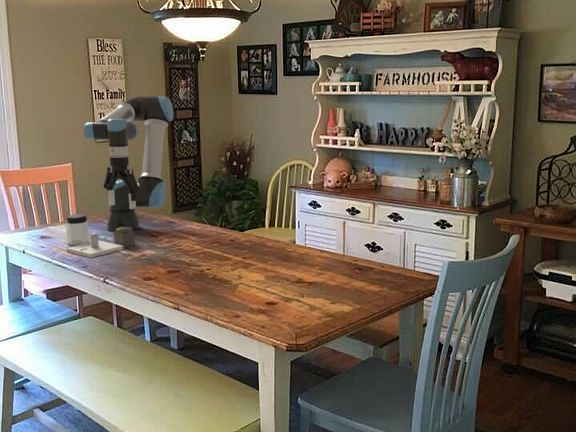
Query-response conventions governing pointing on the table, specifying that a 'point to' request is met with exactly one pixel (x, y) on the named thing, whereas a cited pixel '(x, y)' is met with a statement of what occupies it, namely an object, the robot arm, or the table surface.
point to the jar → (77, 229)
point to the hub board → (94, 247)
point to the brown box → (124, 236)
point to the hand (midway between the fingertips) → (122, 206)
